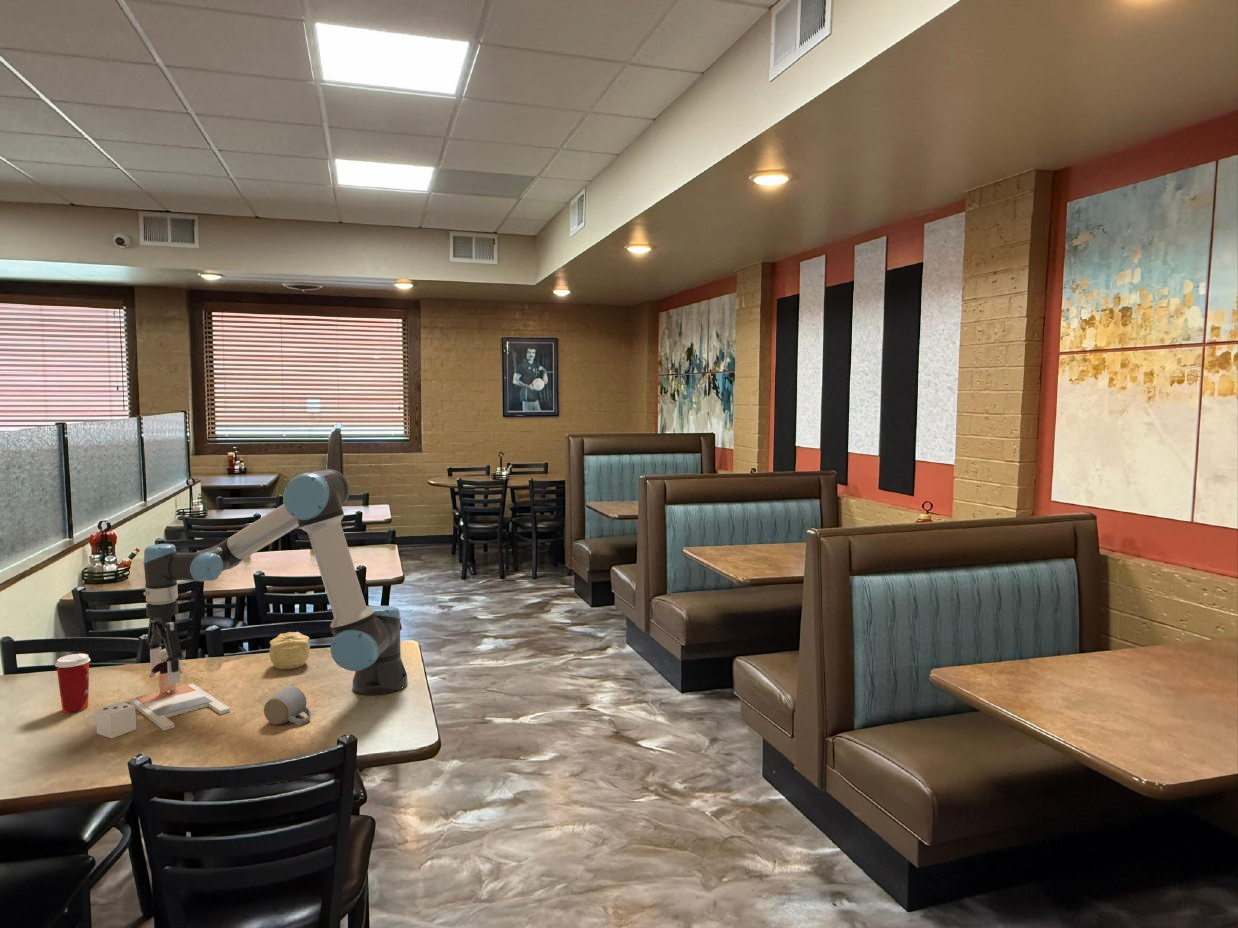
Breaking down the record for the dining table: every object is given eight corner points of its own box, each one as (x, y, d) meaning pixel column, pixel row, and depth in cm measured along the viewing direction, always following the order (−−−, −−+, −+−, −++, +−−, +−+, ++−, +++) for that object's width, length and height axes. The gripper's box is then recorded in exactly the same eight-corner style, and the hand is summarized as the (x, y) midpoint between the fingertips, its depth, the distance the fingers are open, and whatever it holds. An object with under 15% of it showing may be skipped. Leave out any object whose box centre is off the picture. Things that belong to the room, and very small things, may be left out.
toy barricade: (230, 711, 206) (230, 707, 206) (163, 730, 195) (163, 725, 194) (192, 687, 224) (192, 682, 224) (129, 702, 212) (129, 698, 212)
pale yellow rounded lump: (270, 674, 234) (269, 639, 233) (269, 662, 245) (268, 628, 244) (311, 669, 239) (310, 635, 238) (309, 657, 250) (308, 624, 249)
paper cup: (99, 706, 210) (96, 655, 208) (69, 716, 203) (66, 664, 201) (81, 701, 213) (78, 651, 212) (50, 711, 206) (47, 659, 205)
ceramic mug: (261, 725, 198) (261, 695, 197) (281, 712, 206) (280, 684, 205) (299, 729, 196) (299, 699, 196) (317, 716, 204) (317, 687, 204)
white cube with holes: (136, 729, 195) (135, 705, 195) (111, 738, 190) (110, 713, 189) (121, 724, 198) (120, 701, 197) (96, 733, 193) (95, 709, 192)
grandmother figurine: (179, 688, 219) (177, 644, 218) (184, 691, 217) (182, 647, 216) (148, 695, 214) (146, 650, 213) (153, 699, 211) (151, 653, 210)
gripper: (131, 595, 219) (134, 669, 221) (162, 612, 202) (166, 692, 204) (161, 590, 224) (164, 662, 226) (194, 606, 208) (197, 684, 210)
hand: (165, 676), depth 215 cm, fingers open, 13 cm apart
